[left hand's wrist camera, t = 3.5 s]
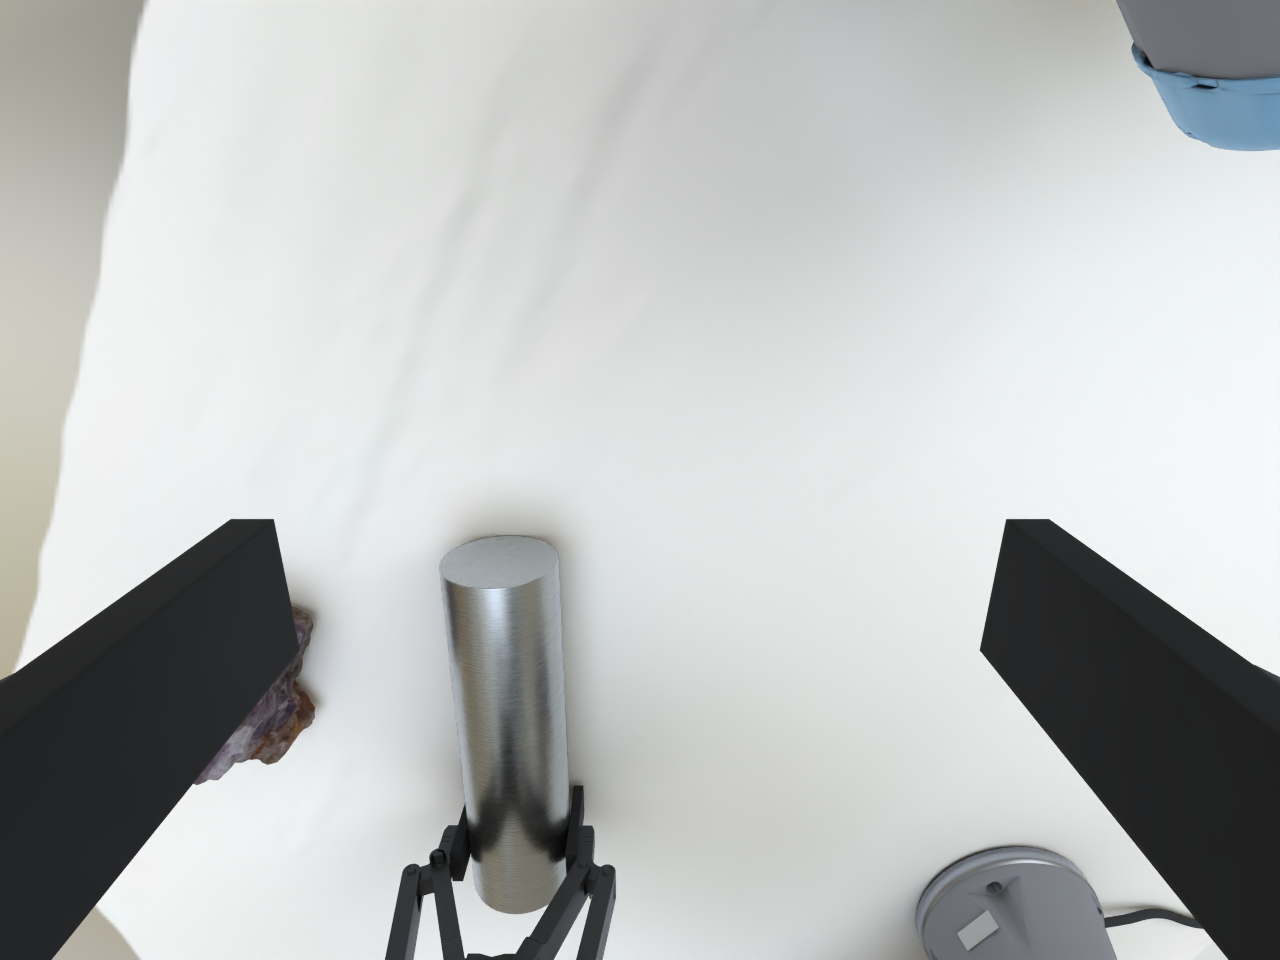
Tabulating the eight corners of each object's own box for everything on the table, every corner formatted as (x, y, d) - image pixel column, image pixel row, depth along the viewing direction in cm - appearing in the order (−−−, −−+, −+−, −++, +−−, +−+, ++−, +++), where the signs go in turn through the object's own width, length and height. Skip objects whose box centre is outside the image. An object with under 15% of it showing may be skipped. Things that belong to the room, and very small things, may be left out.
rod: (456, 535, 49) (423, 588, 41) (564, 535, 49) (550, 588, 41) (485, 829, 58) (463, 914, 51) (576, 829, 58) (566, 915, 51)
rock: (346, 610, 52) (209, 573, 51) (300, 663, 44) (135, 621, 42) (311, 743, 54) (178, 712, 53) (260, 818, 46) (101, 783, 44)
